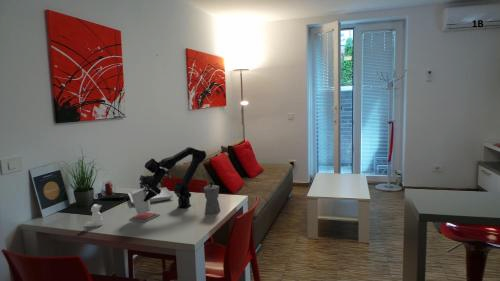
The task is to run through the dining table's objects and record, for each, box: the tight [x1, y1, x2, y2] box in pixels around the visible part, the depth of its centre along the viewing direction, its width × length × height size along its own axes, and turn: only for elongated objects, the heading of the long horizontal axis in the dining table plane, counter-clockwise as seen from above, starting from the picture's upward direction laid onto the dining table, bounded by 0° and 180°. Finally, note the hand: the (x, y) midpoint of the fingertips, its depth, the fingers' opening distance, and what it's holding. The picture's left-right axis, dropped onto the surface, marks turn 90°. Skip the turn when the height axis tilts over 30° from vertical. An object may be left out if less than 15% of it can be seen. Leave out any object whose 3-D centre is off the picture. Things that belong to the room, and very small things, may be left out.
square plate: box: [127, 187, 174, 205], centre depth 243 cm, size 27×27×4 cm
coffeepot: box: [203, 181, 221, 215], centre depth 208 cm, size 15×9×18 cm, turn 13°
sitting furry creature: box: [84, 203, 105, 228], centre depth 194 cm, size 10×9×12 cm
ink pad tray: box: [128, 212, 160, 223], centre depth 203 cm, size 12×12×1 cm
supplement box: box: [131, 188, 152, 215], centre depth 201 cm, size 7×7×13 cm
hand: (141, 199), depth 201 cm, fingers closed on supplement box, 9 cm apart
